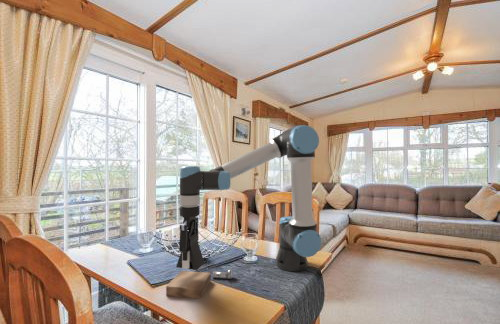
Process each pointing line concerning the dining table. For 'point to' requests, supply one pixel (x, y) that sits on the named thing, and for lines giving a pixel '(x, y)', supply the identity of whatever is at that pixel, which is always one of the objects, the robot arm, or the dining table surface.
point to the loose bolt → (223, 274)
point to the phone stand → (193, 254)
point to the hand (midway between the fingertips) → (189, 264)
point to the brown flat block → (188, 284)
